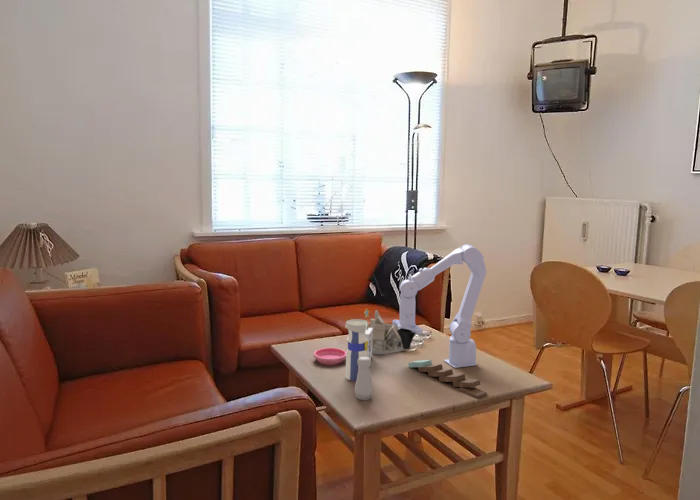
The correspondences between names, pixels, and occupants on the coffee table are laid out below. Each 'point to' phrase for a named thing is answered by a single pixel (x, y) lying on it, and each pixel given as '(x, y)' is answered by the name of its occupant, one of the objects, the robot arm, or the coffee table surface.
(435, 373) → the domino
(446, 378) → the domino
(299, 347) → the coffee table surface
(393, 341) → the ceramic cottage
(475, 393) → the domino
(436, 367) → the domino
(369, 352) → the ink box
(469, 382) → the domino
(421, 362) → the domino
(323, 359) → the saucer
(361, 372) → the salt shaker
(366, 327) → the water bottle
